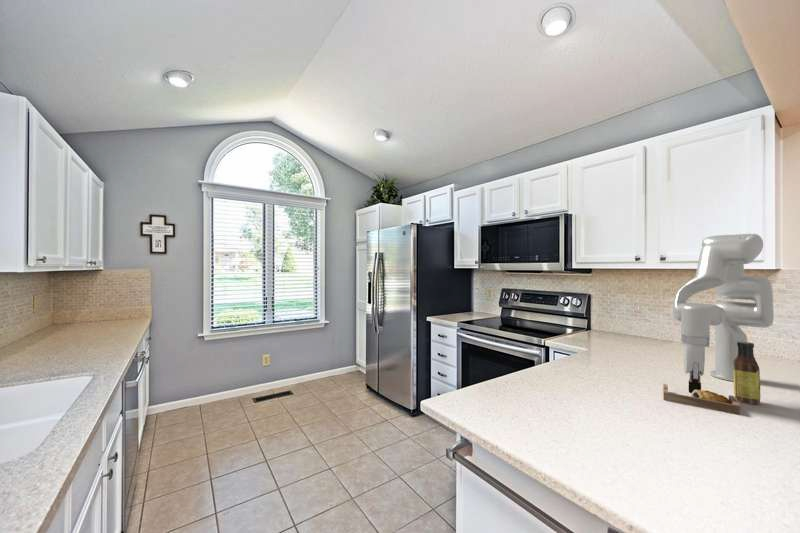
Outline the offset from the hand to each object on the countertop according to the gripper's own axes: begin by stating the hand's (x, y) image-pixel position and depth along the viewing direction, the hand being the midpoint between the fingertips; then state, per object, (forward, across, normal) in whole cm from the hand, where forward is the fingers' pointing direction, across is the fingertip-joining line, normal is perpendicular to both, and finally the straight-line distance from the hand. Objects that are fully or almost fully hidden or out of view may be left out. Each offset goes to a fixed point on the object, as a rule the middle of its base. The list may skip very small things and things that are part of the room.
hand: (694, 393), depth 118 cm
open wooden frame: (+1, +6, +1) cm, 6 cm away
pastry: (+2, +4, +3) cm, 5 cm away
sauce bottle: (+1, -6, +14) cm, 15 cm away
